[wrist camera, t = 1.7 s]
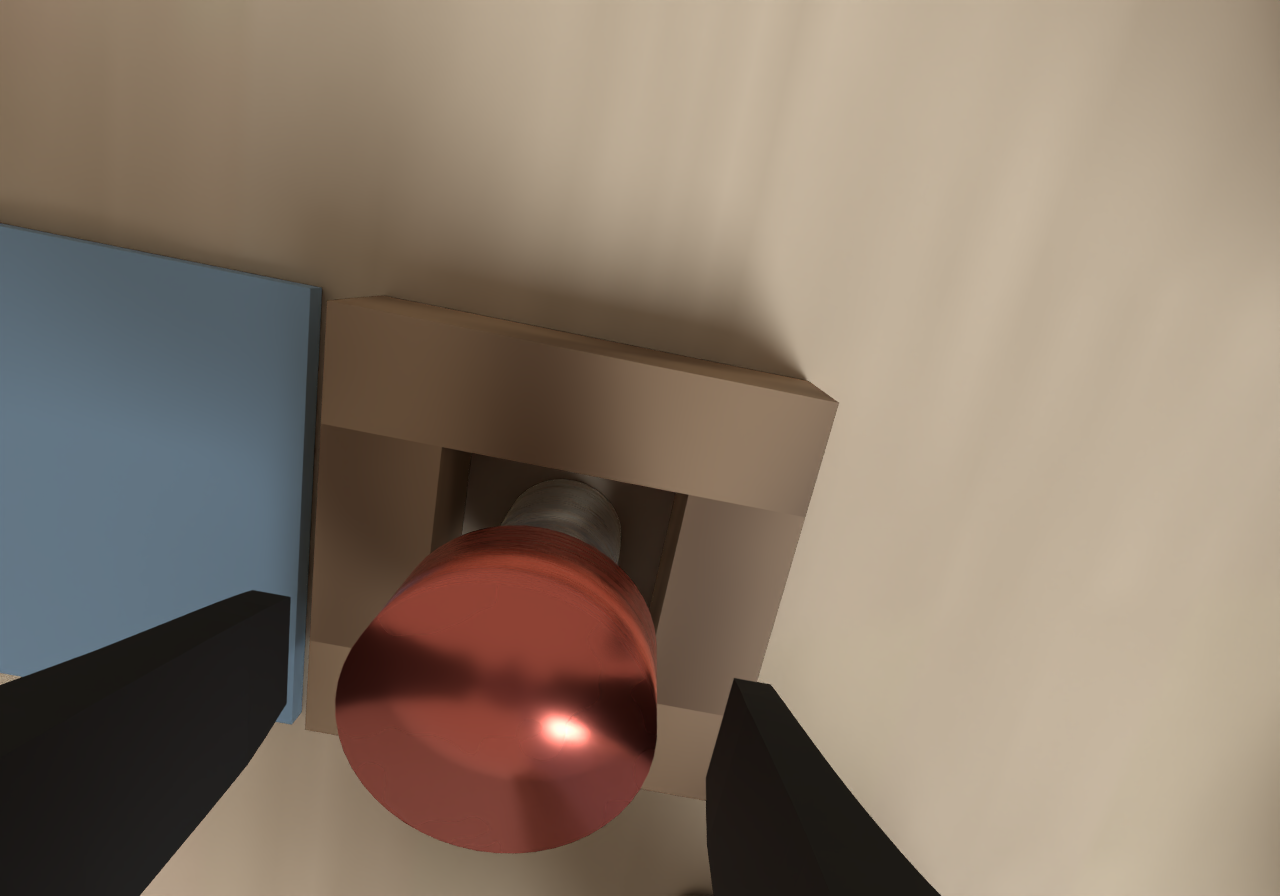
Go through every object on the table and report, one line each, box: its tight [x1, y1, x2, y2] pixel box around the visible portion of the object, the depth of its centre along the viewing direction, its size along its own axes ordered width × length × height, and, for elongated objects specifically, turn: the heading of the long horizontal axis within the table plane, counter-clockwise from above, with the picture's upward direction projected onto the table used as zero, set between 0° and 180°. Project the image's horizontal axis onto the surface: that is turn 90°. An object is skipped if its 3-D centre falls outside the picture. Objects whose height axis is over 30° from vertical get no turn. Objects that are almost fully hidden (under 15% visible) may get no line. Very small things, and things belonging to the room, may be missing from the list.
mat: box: [0, 223, 322, 724], centre depth 15 cm, size 10×12×1 cm
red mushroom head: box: [335, 479, 657, 853], centre depth 12 cm, size 5×5×7 cm
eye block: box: [305, 295, 839, 801], centre depth 15 cm, size 10×10×2 cm
